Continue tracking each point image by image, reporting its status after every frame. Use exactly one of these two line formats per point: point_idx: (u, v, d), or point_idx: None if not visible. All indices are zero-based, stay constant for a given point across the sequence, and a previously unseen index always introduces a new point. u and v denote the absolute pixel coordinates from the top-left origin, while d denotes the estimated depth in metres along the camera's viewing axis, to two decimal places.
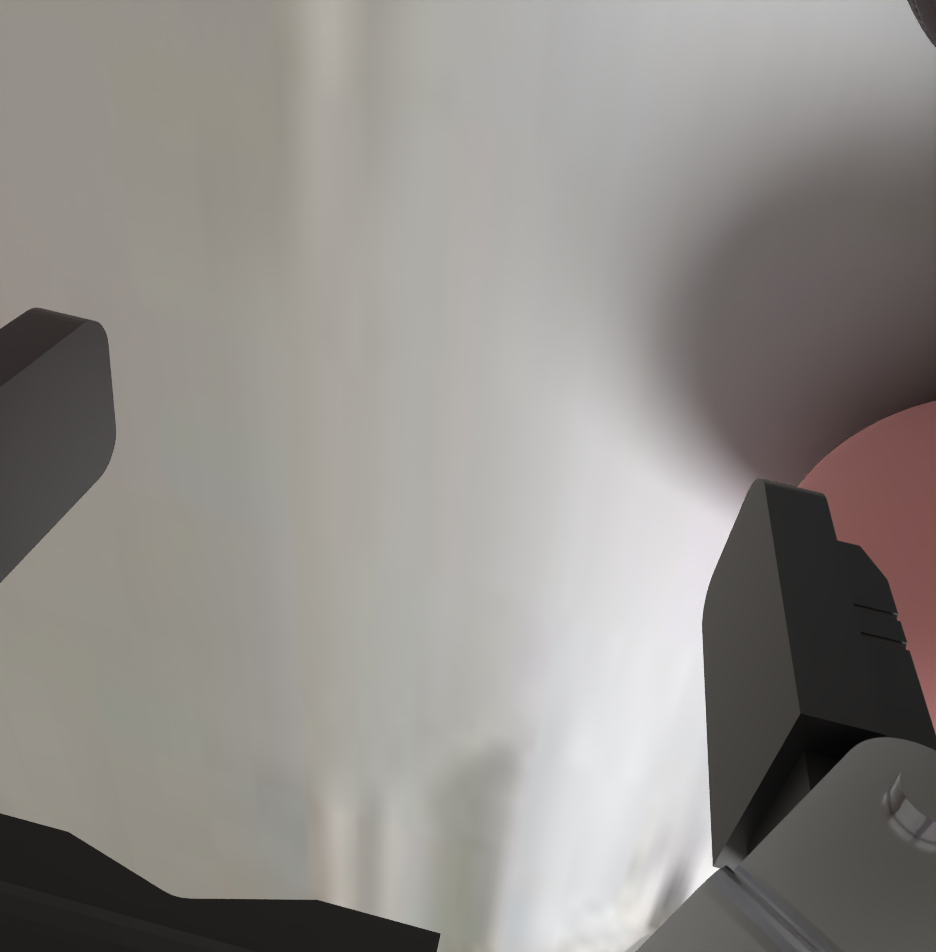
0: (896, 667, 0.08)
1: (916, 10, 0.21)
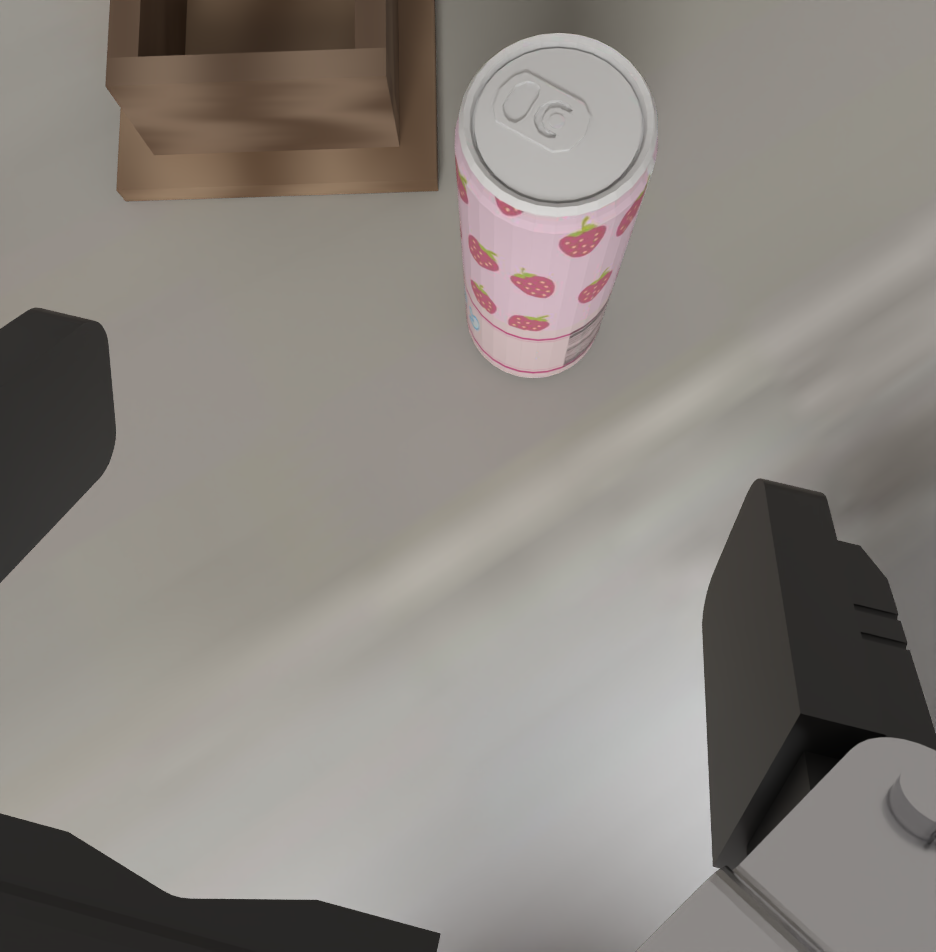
0: (896, 667, 0.08)
1: None
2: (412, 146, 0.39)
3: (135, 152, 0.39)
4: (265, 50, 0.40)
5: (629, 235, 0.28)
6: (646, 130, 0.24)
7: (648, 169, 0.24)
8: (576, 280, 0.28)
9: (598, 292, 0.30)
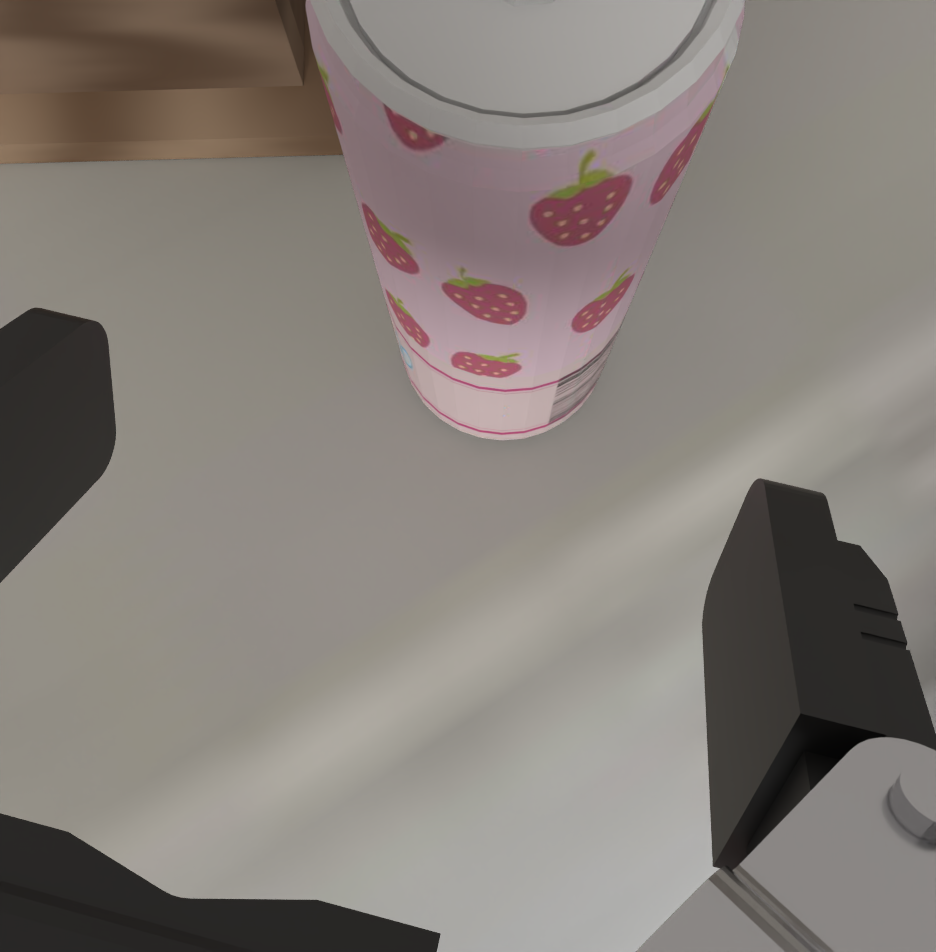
0: (896, 667, 0.08)
1: None
2: (322, 85, 0.26)
3: None
4: None
5: (669, 207, 0.14)
6: None
7: (726, 51, 0.11)
8: (568, 292, 0.14)
9: (608, 313, 0.17)
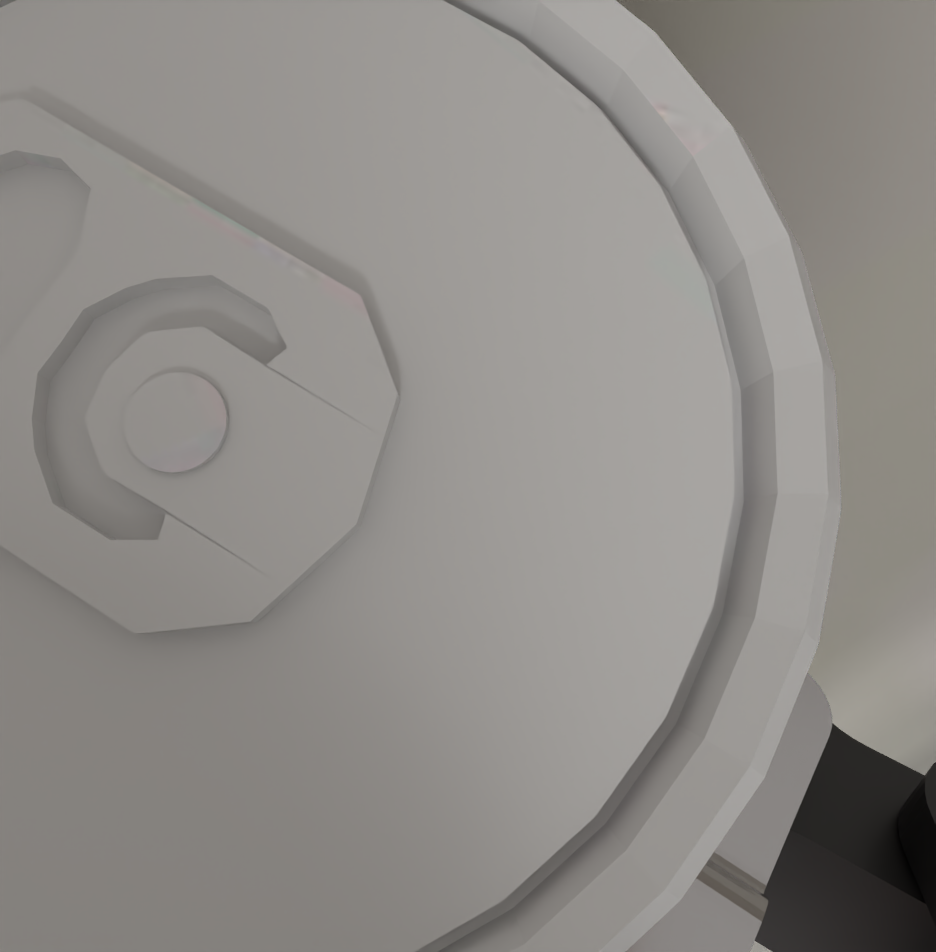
0: None
1: None
2: None
3: None
4: None
5: None
6: (766, 485, 0.04)
7: None
8: None
9: None
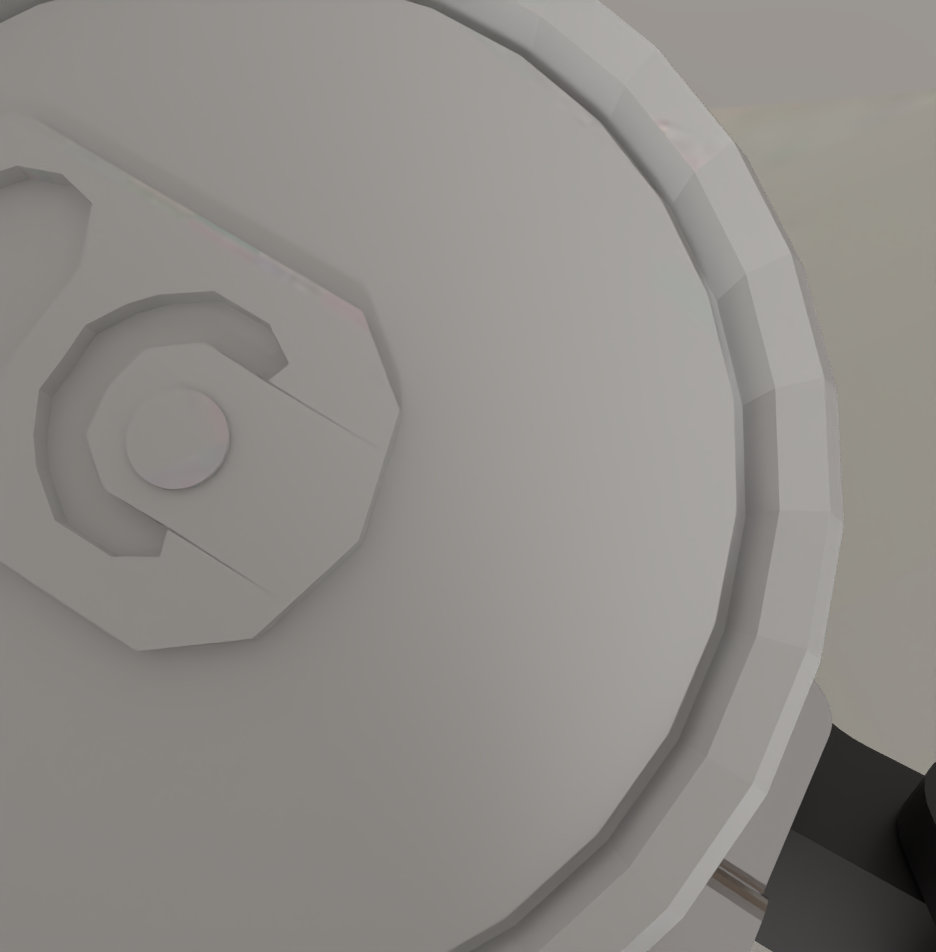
0: None
1: None
2: None
3: None
4: None
5: None
6: (768, 503, 0.04)
7: None
8: None
9: None
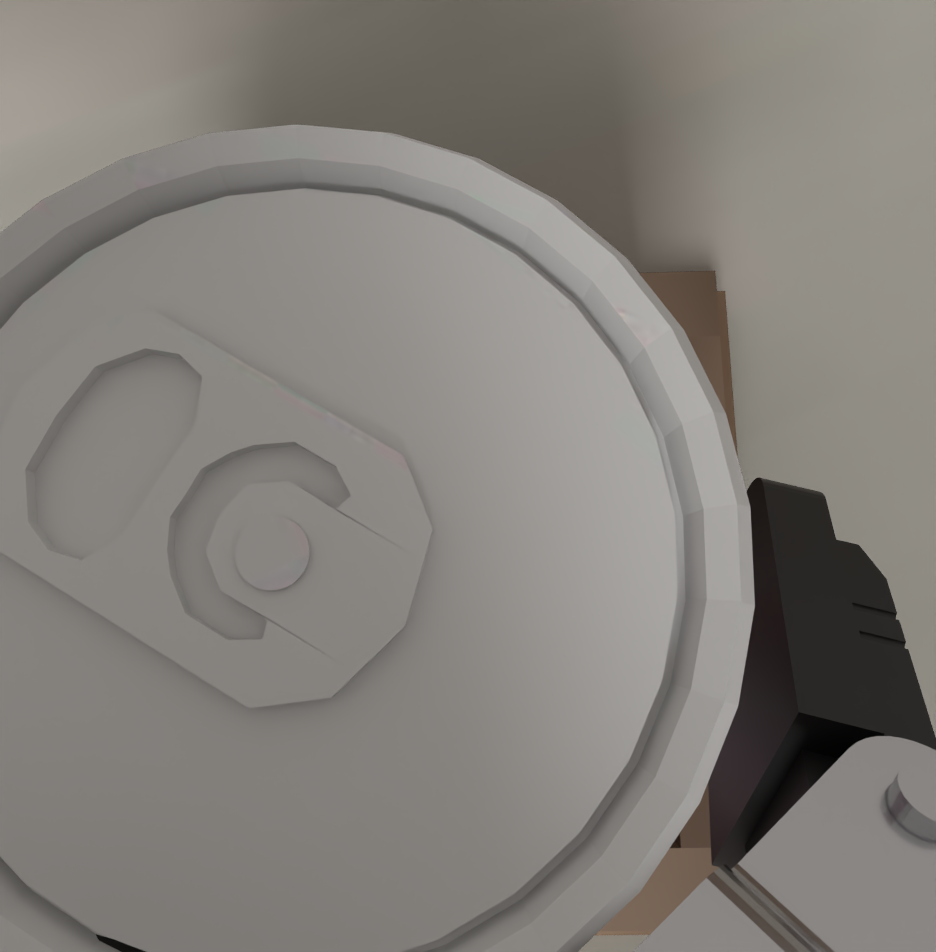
0: (895, 666, 0.08)
1: None
2: None
3: None
4: None
5: None
6: (699, 592, 0.05)
7: None
8: None
9: None
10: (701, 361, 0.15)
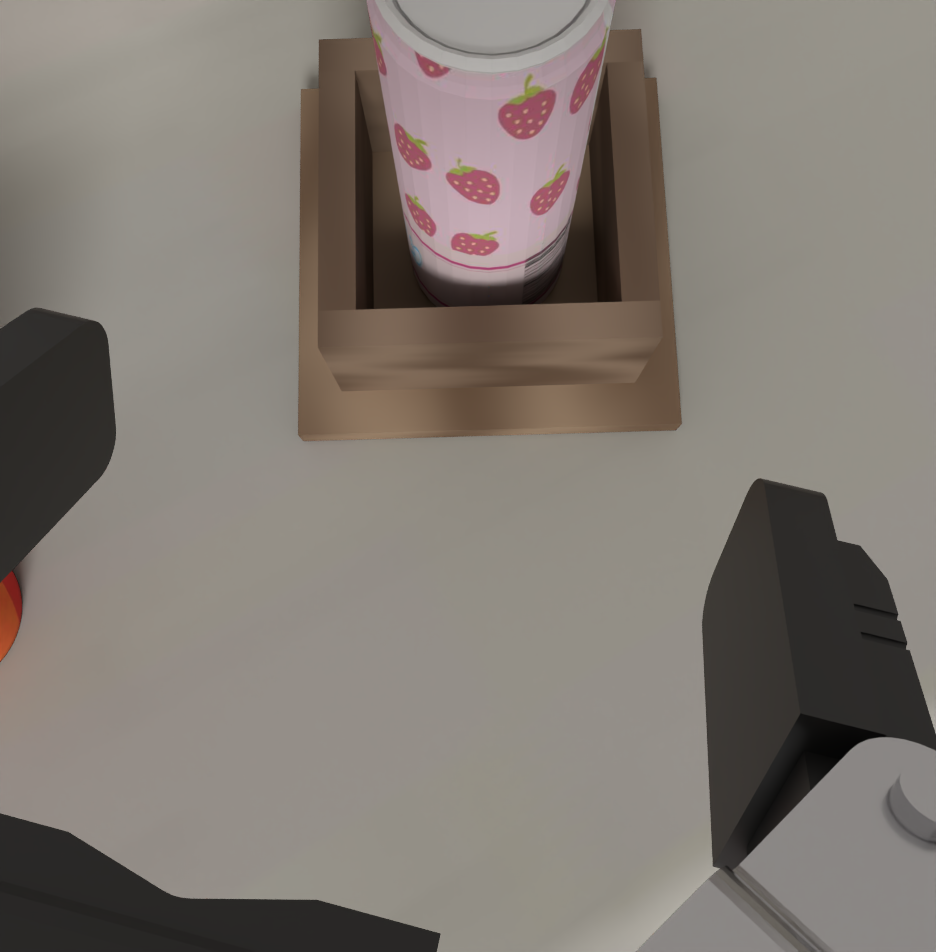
0: (896, 667, 0.08)
1: None
2: (650, 382, 0.33)
3: (319, 387, 0.33)
4: None
5: (587, 123, 0.23)
6: None
7: (605, 18, 0.19)
8: (525, 177, 0.23)
9: (554, 201, 0.25)
10: (633, 74, 0.29)
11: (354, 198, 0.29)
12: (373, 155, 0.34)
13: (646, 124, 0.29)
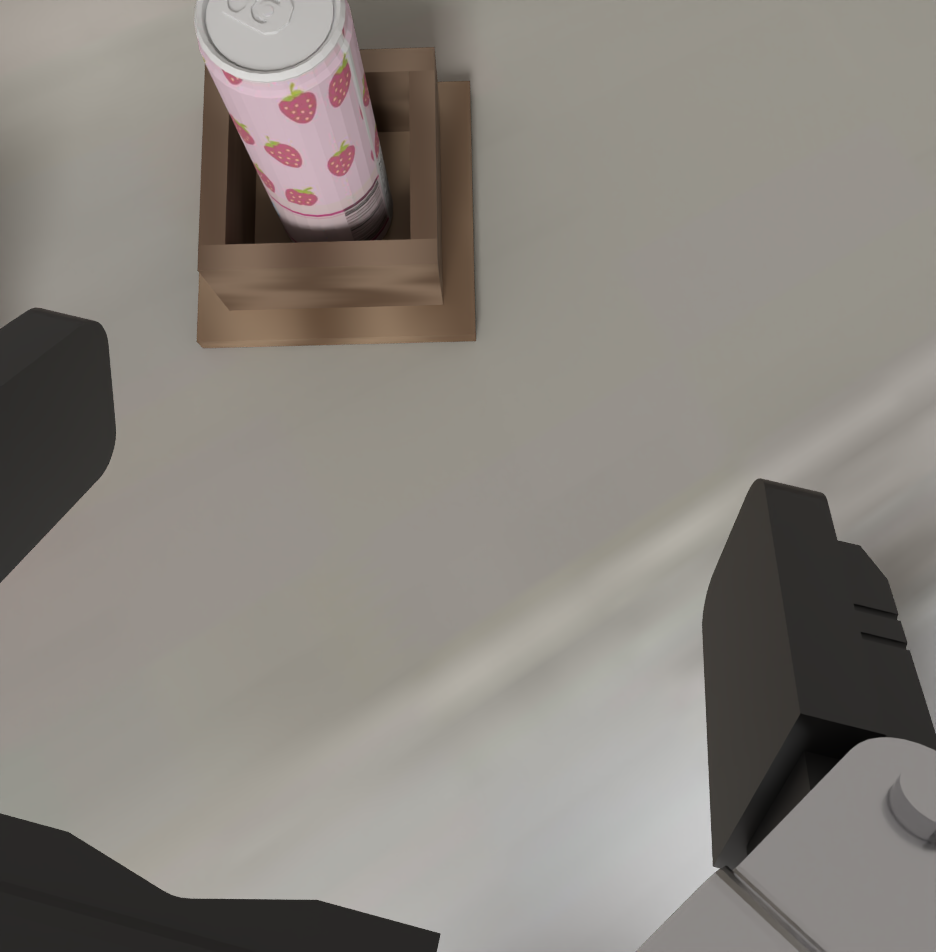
0: (896, 667, 0.08)
1: None
2: (454, 304, 0.45)
3: (212, 308, 0.45)
4: None
5: (358, 113, 0.35)
6: (335, 16, 0.31)
7: (342, 48, 0.31)
8: (316, 149, 0.35)
9: (349, 167, 0.37)
10: (427, 79, 0.41)
11: (226, 167, 0.41)
12: None
13: (435, 114, 0.41)
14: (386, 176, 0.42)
